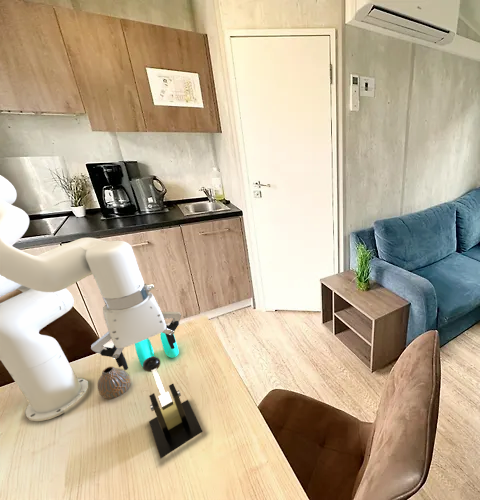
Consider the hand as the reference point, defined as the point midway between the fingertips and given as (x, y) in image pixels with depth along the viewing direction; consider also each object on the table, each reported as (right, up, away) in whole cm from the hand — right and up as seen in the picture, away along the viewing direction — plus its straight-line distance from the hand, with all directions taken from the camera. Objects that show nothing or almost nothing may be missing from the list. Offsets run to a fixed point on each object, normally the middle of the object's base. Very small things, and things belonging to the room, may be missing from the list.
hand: (149, 355), depth 69 cm
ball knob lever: (+2, -7, 0) cm, 7 cm away
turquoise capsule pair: (-12, -10, +23) cm, 27 cm away
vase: (-17, -15, +11) cm, 25 cm away
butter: (+4, -17, +3) cm, 18 cm away
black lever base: (+6, -19, +2) cm, 20 cm away
